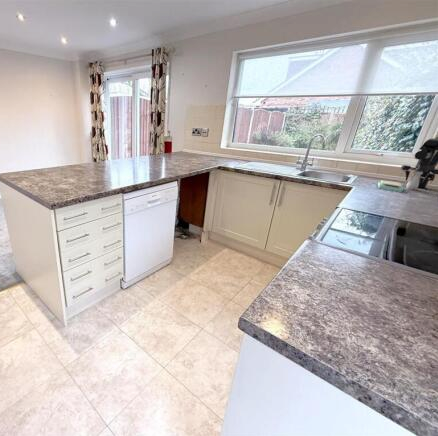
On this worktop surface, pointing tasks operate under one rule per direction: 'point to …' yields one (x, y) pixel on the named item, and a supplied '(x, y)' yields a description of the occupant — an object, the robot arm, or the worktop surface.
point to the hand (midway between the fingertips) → (414, 181)
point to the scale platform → (391, 183)
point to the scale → (390, 187)
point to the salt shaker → (414, 180)
